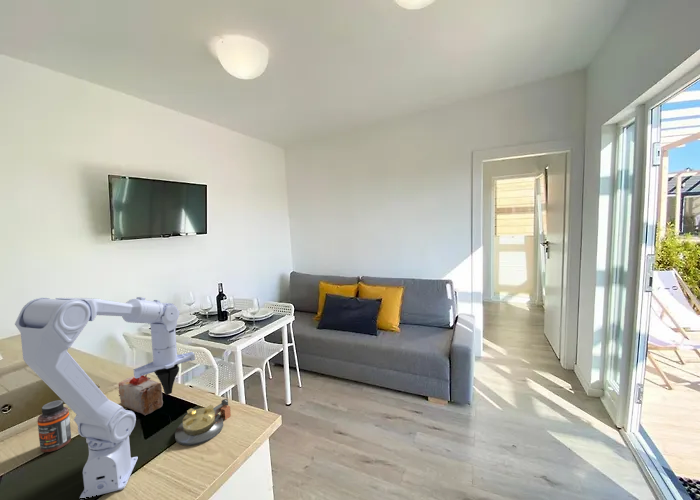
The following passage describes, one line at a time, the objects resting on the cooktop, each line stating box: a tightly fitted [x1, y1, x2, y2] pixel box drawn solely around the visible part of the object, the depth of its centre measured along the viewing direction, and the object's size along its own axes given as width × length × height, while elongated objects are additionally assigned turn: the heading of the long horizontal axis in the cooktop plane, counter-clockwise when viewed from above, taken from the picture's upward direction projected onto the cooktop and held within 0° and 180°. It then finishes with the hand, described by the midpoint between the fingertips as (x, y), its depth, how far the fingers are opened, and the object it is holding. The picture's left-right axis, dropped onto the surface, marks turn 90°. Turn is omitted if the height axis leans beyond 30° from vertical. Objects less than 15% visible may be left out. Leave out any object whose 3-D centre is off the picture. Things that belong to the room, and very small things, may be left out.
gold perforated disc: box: [182, 398, 229, 435], centre depth 87 cm, size 14×8×3 cm, turn 152°
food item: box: [118, 374, 164, 416], centre depth 97 cm, size 14×8×10 cm, turn 65°
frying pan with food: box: [174, 404, 232, 447], centre depth 86 cm, size 14×12×3 cm
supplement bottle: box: [37, 399, 72, 453], centre depth 80 cm, size 6×6×11 cm
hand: (168, 392), depth 85 cm, fingers closed
